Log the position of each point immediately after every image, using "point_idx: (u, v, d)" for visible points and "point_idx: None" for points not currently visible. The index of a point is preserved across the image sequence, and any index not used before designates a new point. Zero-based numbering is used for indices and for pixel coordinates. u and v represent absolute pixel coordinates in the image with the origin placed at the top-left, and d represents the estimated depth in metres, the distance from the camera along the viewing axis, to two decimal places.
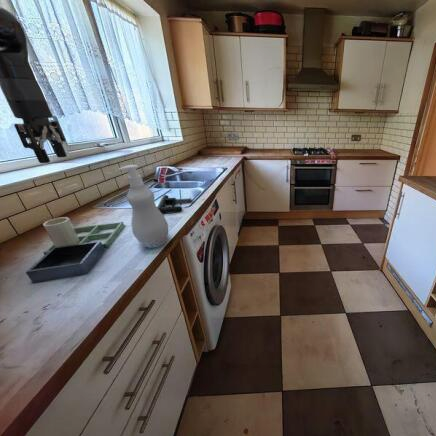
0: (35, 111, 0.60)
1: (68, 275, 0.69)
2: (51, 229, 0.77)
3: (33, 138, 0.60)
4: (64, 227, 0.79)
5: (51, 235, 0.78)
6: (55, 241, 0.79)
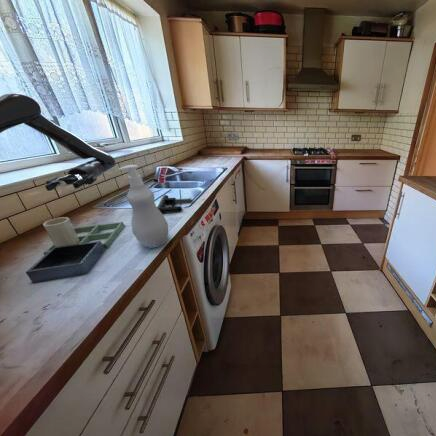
0: None
1: (68, 275, 0.69)
2: (51, 229, 0.77)
3: None
4: (64, 227, 0.79)
5: (51, 235, 0.78)
6: (55, 241, 0.79)
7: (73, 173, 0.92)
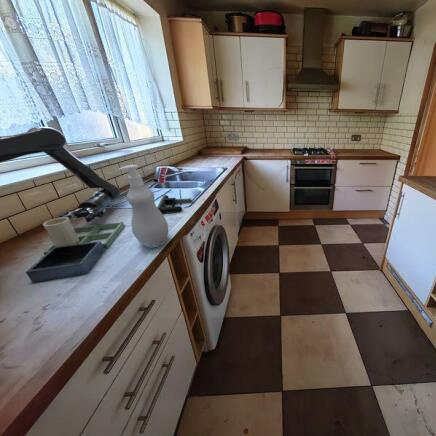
0: None
1: (68, 275, 0.69)
2: (51, 229, 0.77)
3: None
4: (64, 227, 0.79)
5: (51, 235, 0.78)
6: (55, 241, 0.79)
7: (83, 206, 0.97)
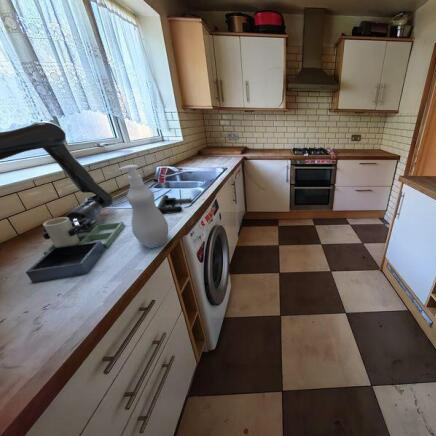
0: None
1: (68, 275, 0.69)
2: (51, 229, 0.77)
3: None
4: (64, 227, 0.79)
5: (51, 235, 0.78)
6: (55, 241, 0.79)
7: (71, 216, 0.88)
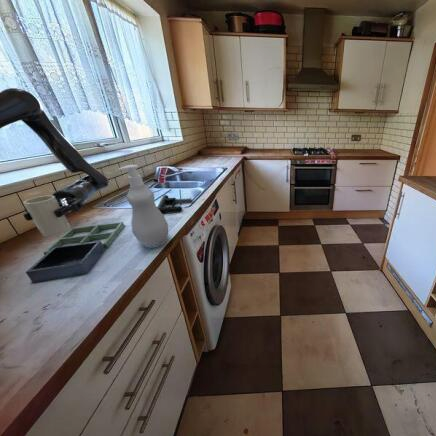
0: None
1: (68, 275, 0.69)
2: (33, 208, 0.65)
3: None
4: (49, 206, 0.67)
5: (33, 215, 0.66)
6: (38, 223, 0.67)
7: (58, 196, 0.76)
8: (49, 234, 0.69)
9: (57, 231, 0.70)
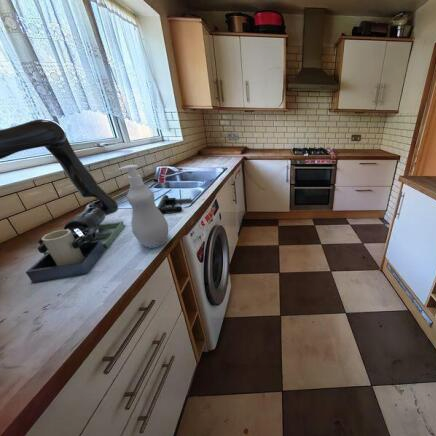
0: None
1: (68, 275, 0.69)
2: (51, 244, 0.68)
3: None
4: (66, 241, 0.70)
5: (51, 251, 0.69)
6: (55, 257, 0.70)
7: (71, 226, 0.79)
8: None
9: None
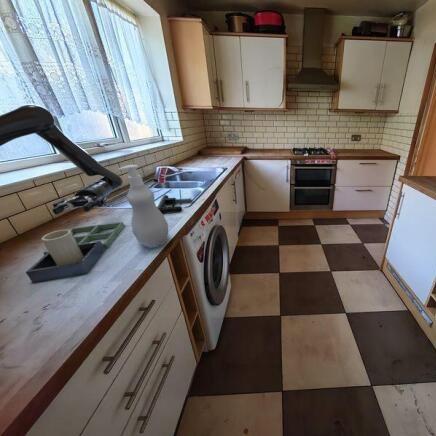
0: None
1: (68, 275, 0.69)
2: (51, 244, 0.68)
3: None
4: (66, 241, 0.70)
5: (51, 251, 0.69)
6: (55, 257, 0.70)
7: (81, 194, 0.86)
8: None
9: None
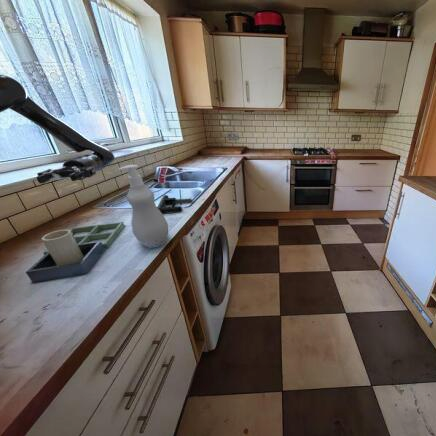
0: None
1: (68, 275, 0.69)
2: (51, 244, 0.68)
3: None
4: (66, 241, 0.70)
5: (51, 251, 0.69)
6: (55, 257, 0.70)
7: (69, 165, 0.82)
8: None
9: None
